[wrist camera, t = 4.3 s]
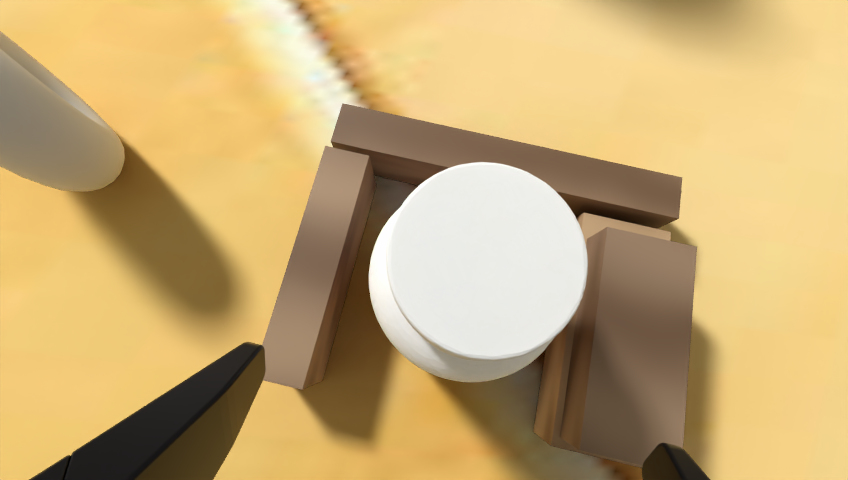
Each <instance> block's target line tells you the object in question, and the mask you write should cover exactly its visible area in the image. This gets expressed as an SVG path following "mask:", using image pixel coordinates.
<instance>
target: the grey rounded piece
mask: <svg viewBox="0 0 848 480" xmlns="http://www.w3.org/2000/svg"><path fill="white" fill-rule="evenodd" d="M124 160H125V154H124V147H123V145H122V143H121V141H120V138H119V137H118V136H117V134H116V133H115V132H114V131H113V129H112V128H111V127H110V126H109V125H108V124H107V123H106V122H105V121H104V120H103V119H102V118H101V117H100V116H99V115H98V114H97V113H96V112H95V111H94V110H93V109H92V108H91V107H90V106H88V105H87V104H86V103H85V102H84V101H83V100H82V99H81V98H80V97H79V96H78V95H76V94H75V93H74V92H73V91H72V90H71V89H70V88H68V87H67V86H66V85H65V84H64V83H63V82H62V81H60V80H59V79H58V78H57V77H56V76H54V75H53V74H52V73H51V72H50V71H49V70H47V69H46V68H45V67H44V66H43V65H41V64H40V63H39V62H38V61H37V60H35V59H34V58H33V57H32V56H31V55H29V54H28V53H27V52H26V51H24V50H23V49H22V48H21V47H19V46H18V45H17V44H16V43H15V42H13V41H12V40H11V39H9V38H8V37H7V36H6V35H4V34H3V33H2V32H1V31H0V166H1V167H3V168H5V169H7V170H9V171H11V172H13V173H15V174H17V175H19V176H21V177H23V178H26V179H29V180H31V181H34V182H37V183H40V184H42V185H45V186H48V187H52V188H55V189H59V190H66V191H88V192H89V191H93V190H97V189H101V188H104V187H105V186H107V185H109V184H110V183H112V182H113V181H114V180H115V179H116V178H117V177H118V176H119V174H120V173H121V170H122V167H123V164H124Z"/></svg>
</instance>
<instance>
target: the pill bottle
mask: <svg viewBox="0 0 848 480" xmlns="http://www.w3.org/2000/svg"><path fill="white" fill-rule="evenodd" d="M587 274H588V256H587V249H586V244H585V240H584V236H583V233H582V230H581V228H580V225H579V223H578V221H577V219H576V217H575V215H574V213H573V212H572V210H571V209H570V207H569V206H568V205H567V203H566V202H565V201H564V200H563V199H562V197H561V196H560V195H559V194H558V193H557V192H556V191H555V190H554V189H553V188H551V187H550V186H549V185H548V184H546V183H545V182H544V181H542V180H540V179H539V178H537V177H535V176H533V175H532V174H530V173H528V172H526V171H523V170H521V169H518V168H515V167H512V166H508V165H504V164H498V163H489V162H477V163H468V164H462V165H457V166H454V167H451V168H448V169H446V170H444V171H441V172H439V173H437V174H435V175H433V176H432V177H430V178H429V179H427V180H425V181H424V182H423V183H422V184H420V185H419V186H418V187H417V188H416V189H415V190H414V191H413V192H412V193H411V194H410V195H409V196H408V197H407V199H406V200H405V201H404V203H403V204H402V206H401V207H400V208H399V209H398V210H397V211H396V212H395V213H394V214H393V215H392V216H391V217H390V219H389V220H388V221H387V223H386V224H385V226H384V227H383V229H382V231H381V232H380V234H379V236H378V238H377V241H376V243H375V246H374V249H373V253H372V256H371V261H370V268H369V291H370V298H371V302H372V306H373V309H374V312H375V315H376V318H377V320H378V322H379V324H380V326H381V328H382V330H383V331H384V333H385V335H386V336H387V338H388V339H389V340H390V342H391V343H392V344H393V345H394V346H395V348H396V349H397V350H398V351H399V352H400V353H401V354H402V355H403V356H405V357H406V358H407V359H408V360H409V361H411V362H412V363H413V364H415V365H416V366H418V367H419V368H421V369H423V370H425V371H426V372H428V373H431V374H433V375H435V376H438V377H441V378H444V379H449V380H453V381H459V382H484V381H490V380H495V379H498V378H502V377H505V376H508V375H510V374H513V373H515V372H517V371H519V370H520V369H522V368H524V367H525V366H527V365H528V364H530V363H531V362H532V361H534V360H535V359H536V358H537V357H538V356H539V355H540V354H541V353H542V352H543V351H544V350H545V349H546V348H547V346H548V345H549V344H550V343H551V341H552V340H553V339H554V337H555V336H557V335H558V334H559V333H560V332H561V331H562V330H563V329H564V327H565V326H566V325H567V324H568V323H569V321H570V320H571V318H572V317H573V315H574V314H575V312H576V310H577V309H578V307H579V305H580V302H581V300H582V297H583V294H584V290H585V287H586V280H587Z"/></svg>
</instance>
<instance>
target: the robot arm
mask: <svg viewBox="0 0 848 480" xmlns="http://www.w3.org/2000/svg"><path fill="white" fill-rule="evenodd" d="M265 371H266V366H265V349H264V347H263V346H262V345H259V344H255V343H251V342H245V343H243V344H241V345H240V346H238V347H236V348H235V349H233V350H232V351H230V352H229V353H227V354H225V355H224V356H222V357H221V358H219V359H218V360H216V361H215V362H213V363H211V364H210V365H208V366H207V367H205V368H204V369H202V370H200V371H199V372H197V373H196V374H194V375H193V376H191V377H190V378H188V379H186V380H185V381H183V382H182V383H180V384H179V385H177V386H175V387H174V388H172V389H171V390H169V391H168V392H166V393H165V394H163V395H161V396H160V397H158V398H157V399H155V400H154V401H152V402H150V403H149V404H147V405H146V406H144V407H143V408H141V409H140V410H138V411H136V412H135V413H133V414H132V415H130V416H129V417H127V418H125V419H124V420H122V421H121V422H119V423H118V424H116V425H115V426H113V427H111V428H110V429H108V430H107V431H105V432H104V433H102V434H100V435H99V436H97V437H96V438H94V439H93V440H91V441H90V442H88V443H86V444H85V445H83V446H82V447H80V448H79V449H77V450H75V451H74V452H73V453H72V455H71V456H70V455H68V456H66V457H64V458H63V459H61V460H60V461H58V462H56V463H55V464H53V465H52V466H50V467H49V468H47V469H45V470H44V471H42V472H41V473H39V474H37V475H36V476H34V477H33V478H31V479H29V480H213V479H214V477H215V475H216V474H217V472H218V470H219V469H220V467H221V465H222V464H223V462H224V460H225V458H226V457H227V455H228V453H229V451H230V450H231V448H232V446H233V444H234V442H235V440H236V438H237V436H238V434H239V432H240V429H241V427H242V425H243V423H244V421H245V418H246V416H247V414H248V412H249V410H250V407H251V405H252V403H253V401H254V399H255V396H256V394H257V392H258V390H259V388H260V385H261V383H262V381H263V379H264V376H265ZM642 478H643V480H710V479H709V478H708V477H707V475H706V474H705V473H704V472H703V471H702V470H701V468H700V467H699V466H698V465H697V464H696V463H695V461H694V460H693V459H692V458H691V457H690V456H689V454H688V453H687V452H686V451H685V450H684V449H683V448H681V447H679V446H676V445H672V444H668V443H660V444H658V445H657V446H656V448H655V449H654V450H653V451H652V452H651V454H650V455H649V456H648V457H647V458H646V459H645V461H644V463H643V466H642Z"/></svg>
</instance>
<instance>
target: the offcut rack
mask: <svg viewBox="0 0 848 480" xmlns="http://www.w3.org/2000/svg"><path fill="white" fill-rule="evenodd" d="M331 143H332V145H333V148H332V147H328V146H325V149H324V152H323V155H322V158H321V161H320V165H319V168H318V171H317V174H316V177H315V180H314V184H313V187H312V190H311V193H310V196H309V199H308V202H307V206H306V209H305V212H304V215H303V218H302V221H301V225H300V228H299V231H298V234H297V237H296V240H295V244H294V247H293V250H292V253H291V256H290V259H289V263H288V266H287V269H286V272H285V275H284V278H283V281H282V285H281V288H280V291H279V294H278V297H277V300H276V304H275V307H274V310H273V313H272V316H271V319H270V323H269V326H268V329H267V332H266V335H265V338H264V341H263V345H262V346H263V347H264V349H265V366H266V371H265V376H264V379H263V380H264V381H268V382H273V383H277V384H281V385H285V386H289V387H293V388H297V389H301V390H303V389H305V388H307V387H310V386H312V385H314V384H316V383H318V382H321V381H323V377H324V374H325V370H326V366H327V363H328V359H329V356H330V352H331V348H332V345H333V341H334V337H335V334H336V330H337V327H338V323H339V319H340V316H341V312H342V308H343V305H344V301H345V298H346V294H347V290H348V287H349V283H350V279H351V276H352V272H353V269H354V265H355V261H356V258H357V254H358V250H359V247H360V243H361V240H362V236H363V232H364V229H365V225H366V221H367V218H368V214H369V211H370V207H371V203H372V200H373V196H374V193H375V189H376V181H375V177H374V175H375V176H380V177H384V178H389V179H393V180H397V181H402V182H406V183H411V184H415V185H420V184H422V183H423V182H424V181H425V180H427V179H429V178H430V177H432V176H433V175H435V174H437V173H439V172H441V171H444V170H446V169H448V168H451V167H454V166H457V165H462V164H468V163H477V162H489V163H498V164H504V165H508V166H512V167H515V168H518V169H521V170H523V171H526V172H528V173H530V174H532V175H533V176H535V177H537V178H539V179H540V180H542V181H544V182H545V183H546V184H548V185H549V186H550V187H551V188H553V189H554V190H555V191H556V192H557V193H558V194H559V195H560V196H561V197H562V199H563V200H564V201H565V202H566V203H567V205H568V206H569V207H570V209H571V210H572V212H573V213H574V215H575V217H576V219H577V221H578V223H579V225H580V228H581V230H582V233H583V236H584V240H585V244H586V249H587V256H588V274H587V280H586V287H585V290H584V294H583V297H582V300H581V302H580V305H579V307H578V309H577V310H576V312H575V314H574V315H573V317H572V318H571V320H570V321H569V323H568V324H567V325H566V326H565V327H564V329H563V330H562V331H561V332H560V333H559V334H558V335H557V336H555V337H554V339H553V340H552V341H551V343H550V344H549V345H548V346H547V348H546V351H545V358H544V364H543V371H542V378H541V384H540V391H539V397H538V404H537V410H536V417H535V424H534V430H533V432H534V433H535V434H537V435H538V436H539V437H540V438H542V439H543V440H544V441H546V442H547V443H548V444H549V445H551V446H554V447H558V448H562V449H566V450H570V451H574V452H579V453H583V454H587V455H591V456H595V457H599V458H603V459H607V460H611V461H615V462H620V463H624V464H628V465H632V466H636V467H640V468H642V466H643V463H644V461H645V459H646V458H647V457H648V456H649V455H650V454H651V452H652V451H653V450H654V449H655V448H656V446H657V445H658V444H660V443H668V444H672V445H676V446H679V447H681V448H683V440H684V426H685V411H686V397H687V382H688V368H689V353H690V339H691V324H692V310H693V295H694V281H695V266H696V252H697V247H695V246H691V245H686V244H682V243H677V242H673V241H670V238H671V232H669V231H664V230H660V229H657V228H659V227H661V226H664V225H666V224H668V223H670V222H672V221H674V220H677V219H679V210H680V198H681V185H682V177H677V176H673V175H668V174H663V173H659V172H654V171H650V170H645V169H640V168H636V167H631V166H627V165H622V164H618V163H613V162H608V161H604V160H599V159H595V158H590V157H586V156H581V155H576V154H572V153H567V152H563V151H558V150H553V149H549V148H544V147H540V146H535V145H531V144H526V143H521V142H517V141H512V140H508V139H503V138H499V137H494V136H489V135H485V134H480V133H476V132H471V131H467V130H462V129H457V128H453V127H448V126H444V125H439V124H434V123H430V122H425V121H421V120H416V119H412V118H407V117H402V116H398V115H393V114H389V113H384V112H380V111H375V110H370V109H366V108H361V107H357V106H352V105H347V104H342V107H341V110H340V114H339V117H338V120H337V123H336V126H335V130H334V133H333V136H332V139H331Z"/></svg>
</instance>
